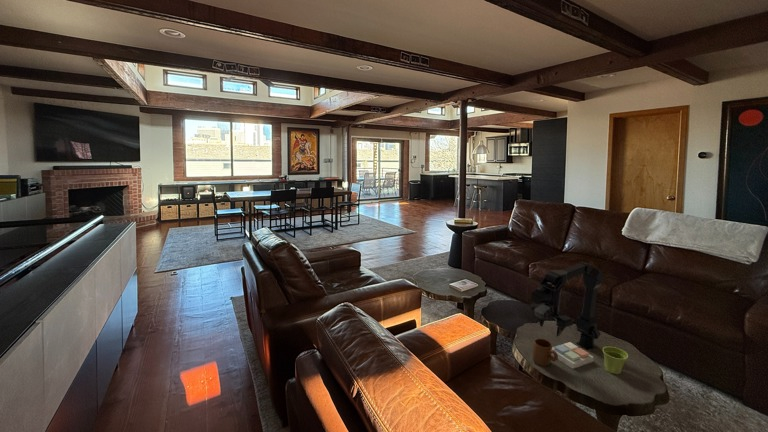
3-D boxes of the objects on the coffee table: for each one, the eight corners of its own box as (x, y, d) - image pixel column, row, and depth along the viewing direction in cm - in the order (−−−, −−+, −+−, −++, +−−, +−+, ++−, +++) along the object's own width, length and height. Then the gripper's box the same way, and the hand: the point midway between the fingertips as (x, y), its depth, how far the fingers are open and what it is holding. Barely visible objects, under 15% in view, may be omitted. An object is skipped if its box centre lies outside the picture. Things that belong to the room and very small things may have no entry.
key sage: (571, 354, 168) (571, 350, 167) (579, 360, 164) (580, 356, 163) (564, 357, 166) (564, 353, 166) (572, 362, 162) (573, 358, 162)
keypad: (568, 347, 177) (569, 342, 177) (592, 362, 166) (593, 356, 165) (548, 353, 172) (549, 348, 172) (572, 369, 161) (573, 363, 160)
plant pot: (617, 379, 154) (619, 361, 152) (595, 367, 162) (598, 349, 160) (629, 373, 158) (632, 355, 156) (608, 361, 166) (610, 344, 164)
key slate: (560, 348, 173) (561, 344, 172) (568, 353, 169) (569, 349, 168) (554, 350, 171) (554, 346, 171) (561, 355, 167) (562, 351, 167)
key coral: (579, 351, 170) (580, 348, 170) (588, 357, 166) (588, 353, 166) (573, 354, 168) (573, 350, 168) (581, 359, 164) (582, 355, 164)
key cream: (569, 345, 175) (569, 341, 175) (577, 350, 171) (577, 346, 171) (562, 347, 173) (563, 343, 173) (570, 352, 169) (571, 348, 169)
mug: (562, 370, 160) (564, 350, 158) (549, 374, 157) (551, 354, 155) (541, 355, 171) (543, 337, 169) (528, 358, 168) (530, 340, 166)
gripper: (523, 294, 167) (520, 325, 170) (557, 312, 150) (553, 345, 154) (541, 290, 171) (538, 320, 175) (576, 306, 155) (572, 339, 158)
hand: (549, 331), depth 165 cm, fingers open, 9 cm apart
